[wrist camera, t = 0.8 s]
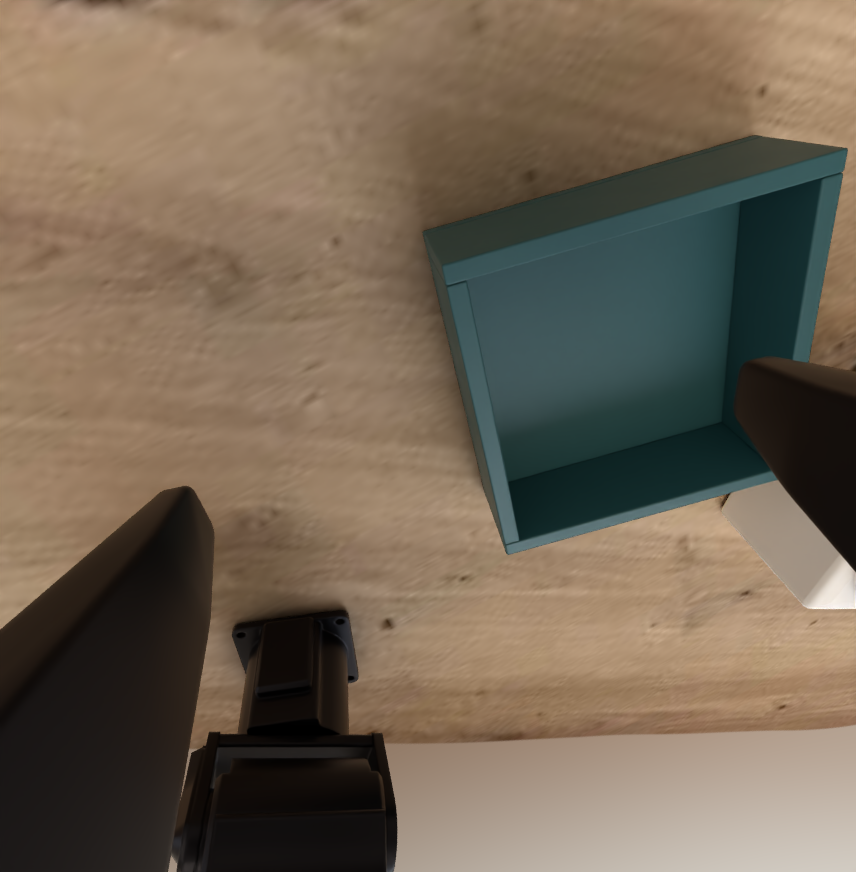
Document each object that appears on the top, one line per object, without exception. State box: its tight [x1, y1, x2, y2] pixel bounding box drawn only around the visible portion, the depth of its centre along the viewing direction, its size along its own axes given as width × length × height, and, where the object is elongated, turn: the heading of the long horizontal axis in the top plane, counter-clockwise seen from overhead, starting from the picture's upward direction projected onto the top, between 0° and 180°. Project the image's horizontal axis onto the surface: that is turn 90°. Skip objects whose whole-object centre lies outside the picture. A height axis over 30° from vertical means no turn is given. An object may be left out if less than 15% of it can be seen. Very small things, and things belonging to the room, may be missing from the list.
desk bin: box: [423, 135, 848, 555], centre depth 22 cm, size 13×13×4 cm
